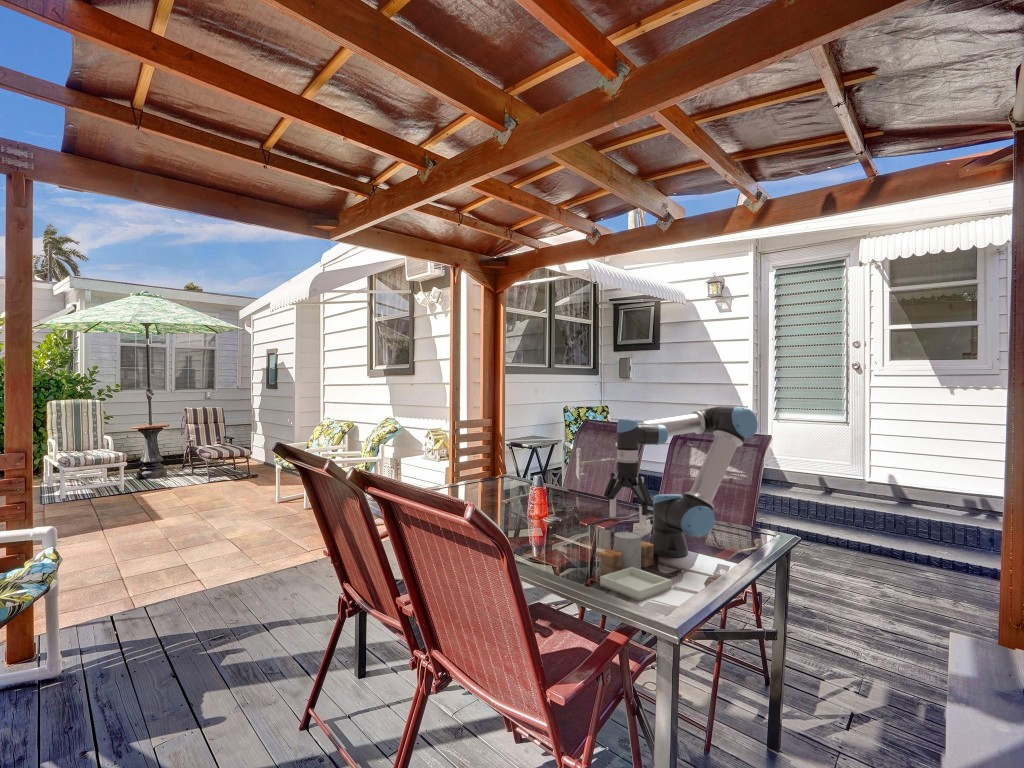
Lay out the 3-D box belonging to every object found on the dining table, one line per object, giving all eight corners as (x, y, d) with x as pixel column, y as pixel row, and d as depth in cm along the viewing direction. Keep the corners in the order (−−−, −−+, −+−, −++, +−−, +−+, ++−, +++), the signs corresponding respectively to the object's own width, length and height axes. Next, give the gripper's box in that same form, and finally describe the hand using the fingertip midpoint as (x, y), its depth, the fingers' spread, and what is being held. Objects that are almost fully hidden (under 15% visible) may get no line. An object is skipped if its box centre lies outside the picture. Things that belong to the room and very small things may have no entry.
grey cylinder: (637, 565, 185) (637, 531, 185) (644, 573, 175) (644, 538, 176) (611, 565, 185) (611, 531, 185) (617, 574, 175) (617, 538, 175)
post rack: (642, 561, 189) (642, 541, 189) (653, 565, 185) (653, 544, 185) (600, 573, 175) (600, 552, 175) (611, 578, 171) (611, 555, 171)
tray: (631, 575, 174) (631, 566, 174) (671, 589, 161) (671, 580, 161) (600, 585, 164) (600, 576, 164) (639, 601, 151) (639, 591, 151)
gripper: (594, 458, 189) (594, 515, 188) (649, 465, 169) (649, 529, 168) (608, 457, 193) (608, 512, 193) (662, 464, 174) (662, 525, 173)
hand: (627, 520), depth 180 cm, fingers open, 13 cm apart
